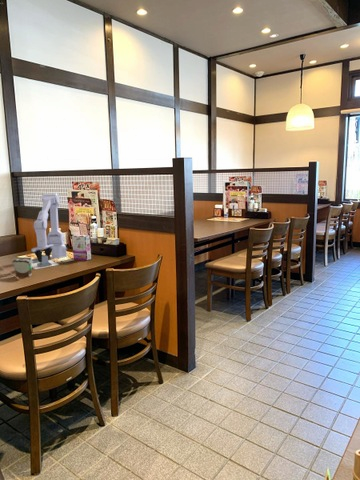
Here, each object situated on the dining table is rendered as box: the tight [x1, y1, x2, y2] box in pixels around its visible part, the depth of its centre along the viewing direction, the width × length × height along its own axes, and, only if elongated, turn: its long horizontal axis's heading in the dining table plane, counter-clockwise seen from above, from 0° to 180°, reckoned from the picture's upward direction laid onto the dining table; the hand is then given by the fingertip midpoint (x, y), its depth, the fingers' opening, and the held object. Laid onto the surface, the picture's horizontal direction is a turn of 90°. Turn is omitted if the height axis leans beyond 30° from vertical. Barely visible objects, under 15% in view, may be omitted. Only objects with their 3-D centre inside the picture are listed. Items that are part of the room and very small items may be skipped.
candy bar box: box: [71, 234, 92, 261], centre depth 233 cm, size 11×5×16 cm, turn 68°
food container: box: [12, 256, 33, 278], centre depth 200 cm, size 12×6×10 cm, turn 71°
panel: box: [31, 258, 60, 270], centre depth 225 cm, size 15×24×2 cm, turn 41°
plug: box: [40, 254, 49, 265], centre depth 219 cm, size 4×4×7 cm
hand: (44, 260), depth 219 cm, fingers closed on plug, 5 cm apart
